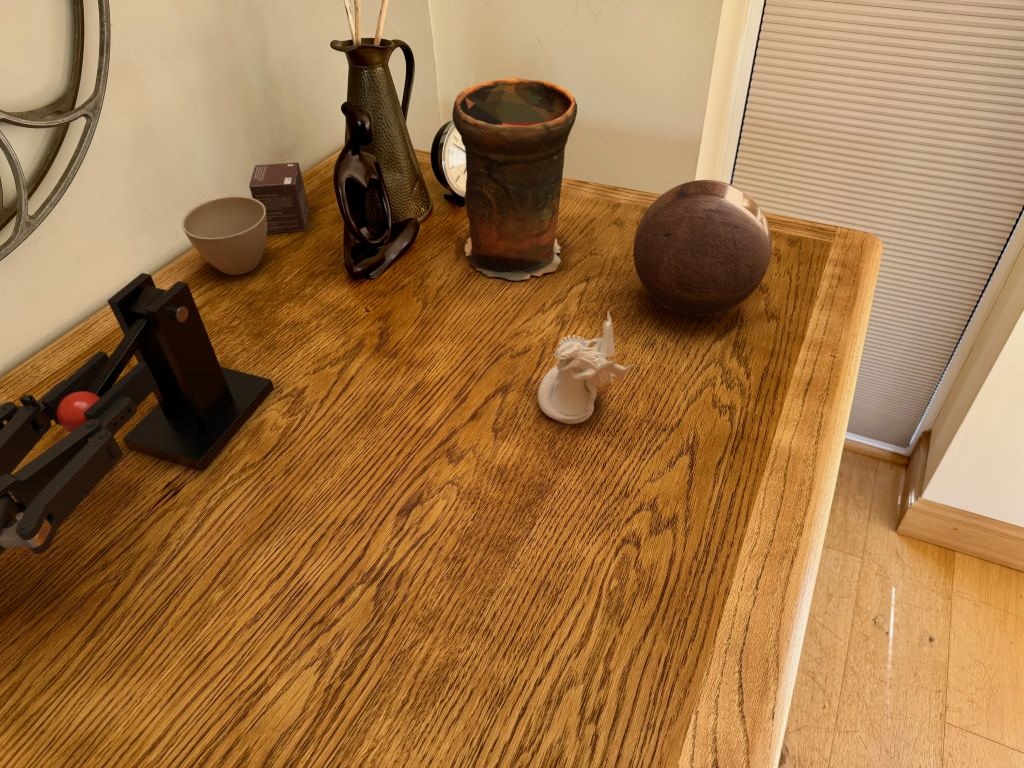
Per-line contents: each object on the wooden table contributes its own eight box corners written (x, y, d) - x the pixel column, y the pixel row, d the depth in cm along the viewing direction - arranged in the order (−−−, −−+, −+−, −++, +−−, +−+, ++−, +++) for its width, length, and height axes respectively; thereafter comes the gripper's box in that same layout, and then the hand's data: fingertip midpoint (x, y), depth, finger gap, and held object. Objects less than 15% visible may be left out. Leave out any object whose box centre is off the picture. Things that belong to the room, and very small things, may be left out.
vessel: (579, 227, 99) (587, 79, 86) (560, 288, 89) (565, 131, 75) (477, 216, 102) (469, 71, 88) (448, 274, 92) (434, 120, 78)
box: (267, 212, 104) (254, 164, 99) (310, 209, 104) (299, 161, 99) (261, 234, 99) (247, 186, 94) (306, 231, 100) (294, 182, 95)
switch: (100, 446, 60) (72, 427, 57) (66, 436, 61) (37, 416, 58) (189, 311, 66) (169, 287, 63) (157, 303, 67) (136, 279, 64)
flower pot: (185, 266, 94) (166, 217, 89) (252, 235, 99) (237, 187, 94) (226, 297, 89) (208, 247, 84) (294, 262, 94) (281, 213, 89)
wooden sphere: (768, 343, 81) (803, 225, 71) (634, 343, 81) (649, 226, 71) (741, 266, 92) (767, 155, 82) (622, 267, 92) (634, 156, 82)
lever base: (203, 471, 69) (142, 344, 58) (127, 448, 71) (54, 321, 60) (274, 388, 77) (232, 263, 66) (204, 370, 79) (152, 246, 68)
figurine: (523, 399, 75) (522, 307, 67) (582, 371, 78) (588, 279, 70) (587, 465, 69) (595, 372, 60) (649, 431, 72) (664, 338, 63)
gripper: (-173, 590, 52) (72, 379, 68) (4, 664, 48) (221, 420, 64) (-250, 528, 47) (34, 316, 63) (-60, 605, 43) (194, 356, 58)
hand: (128, 369), depth 63 cm, fingers closed on switch, 4 cm apart
